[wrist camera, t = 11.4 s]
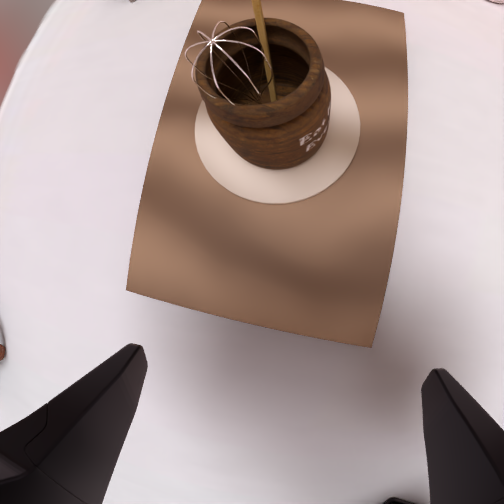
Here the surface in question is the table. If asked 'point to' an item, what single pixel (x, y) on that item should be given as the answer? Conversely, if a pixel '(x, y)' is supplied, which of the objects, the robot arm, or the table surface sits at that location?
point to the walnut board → (282, 188)
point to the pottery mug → (2, 352)
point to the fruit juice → (497, 1)
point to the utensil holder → (265, 90)
